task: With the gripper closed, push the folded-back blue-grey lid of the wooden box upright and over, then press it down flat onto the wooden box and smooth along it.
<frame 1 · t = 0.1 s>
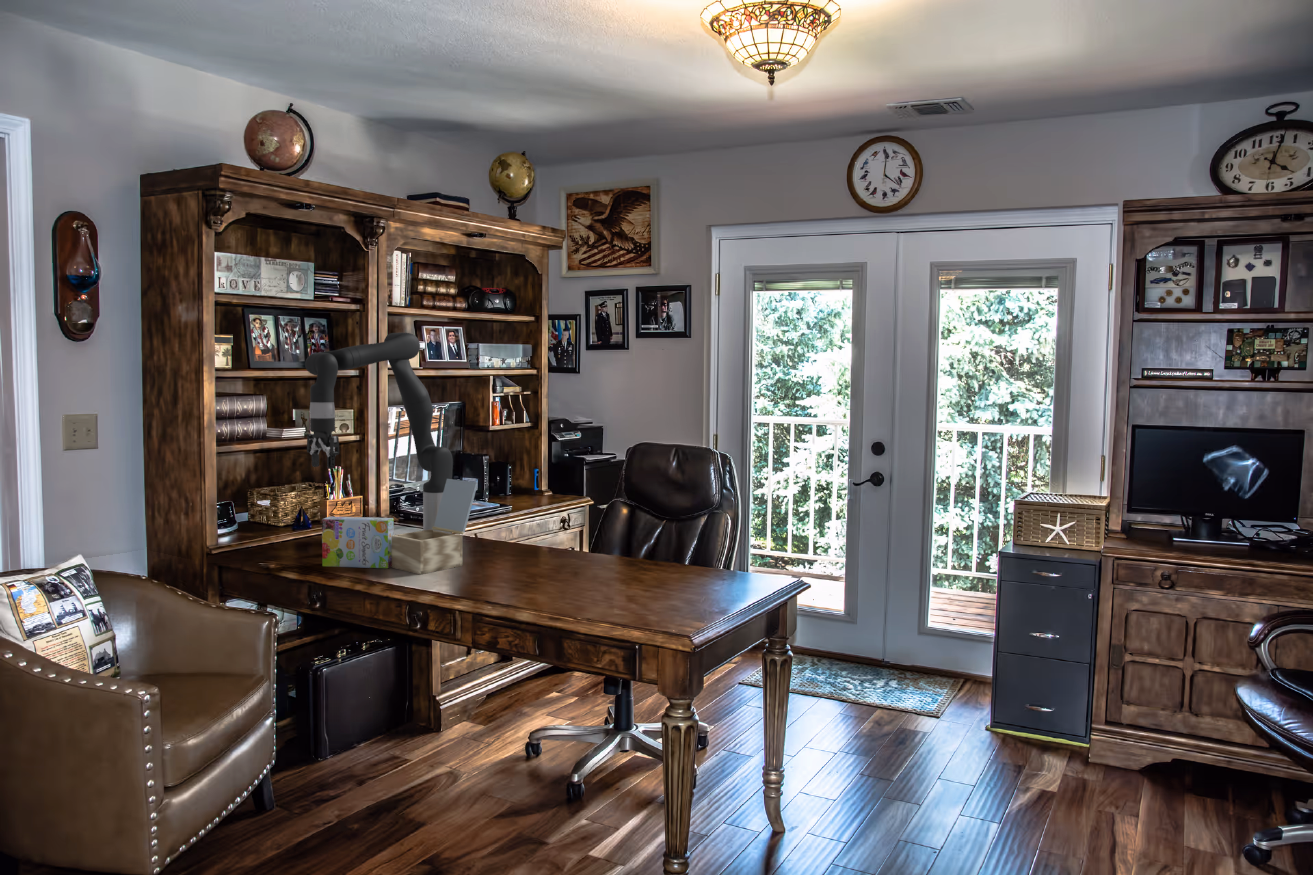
hand: (323, 467, 297), 29 cm above the table, tool pointing down, fingers open, 8 cm apart
lid: (454, 506, 296), point 18 cm above the table, hinge at 110.0°
snack box: (358, 566, 289), on the table
wooden box: (427, 566, 289), on the table
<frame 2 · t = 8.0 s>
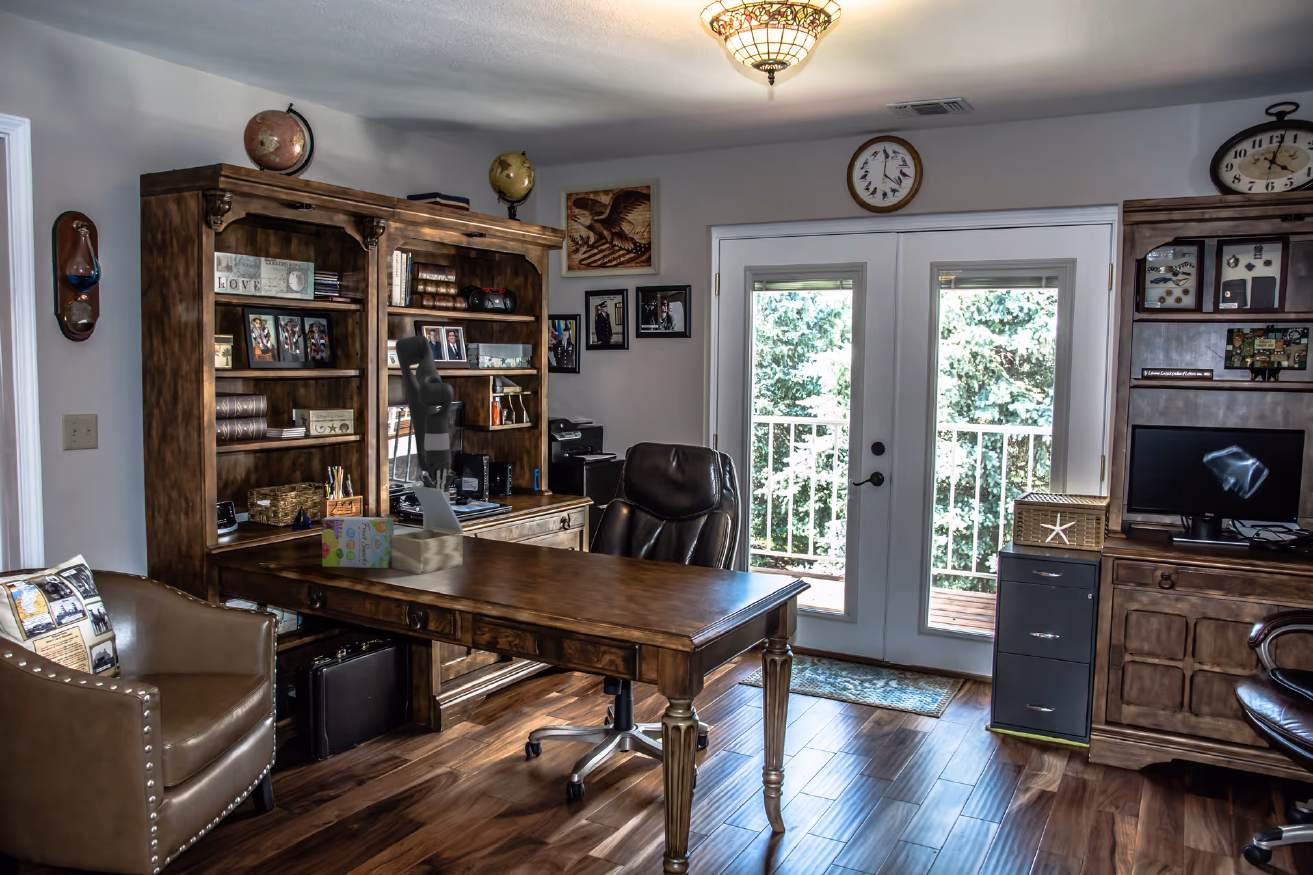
hand: (438, 503, 291), 19 cm above the table, tool pointing down, fingers closed
lid: (437, 510, 291), point 17 cm above the table, hinge at 59.0°, touching gripper
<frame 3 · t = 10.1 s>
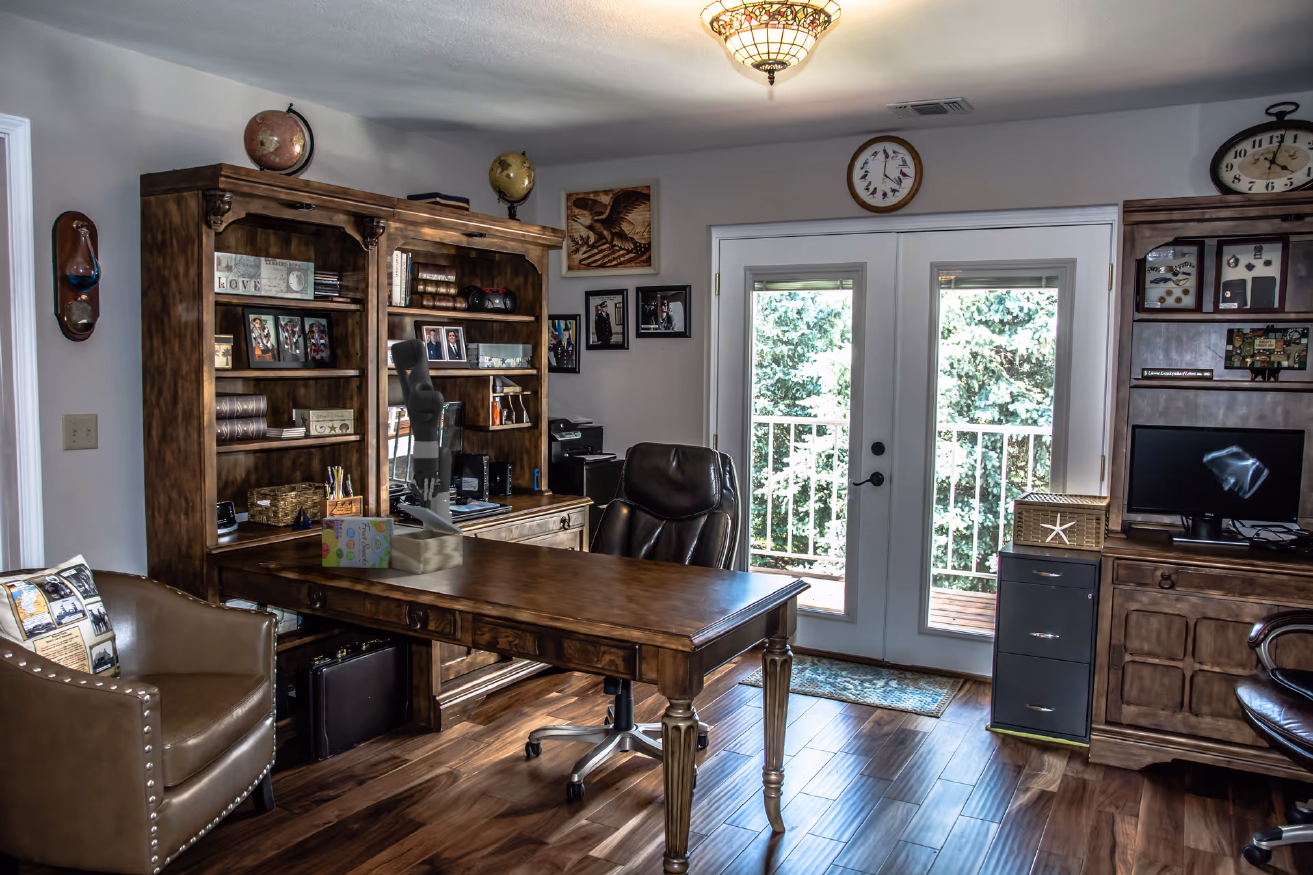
hand: (425, 512, 287), 17 cm above the table, tool pointing down, fingers closed
lid: (430, 519, 289), point 15 cm above the table, hinge at 31.9°, touching gripper
everything else where it was.
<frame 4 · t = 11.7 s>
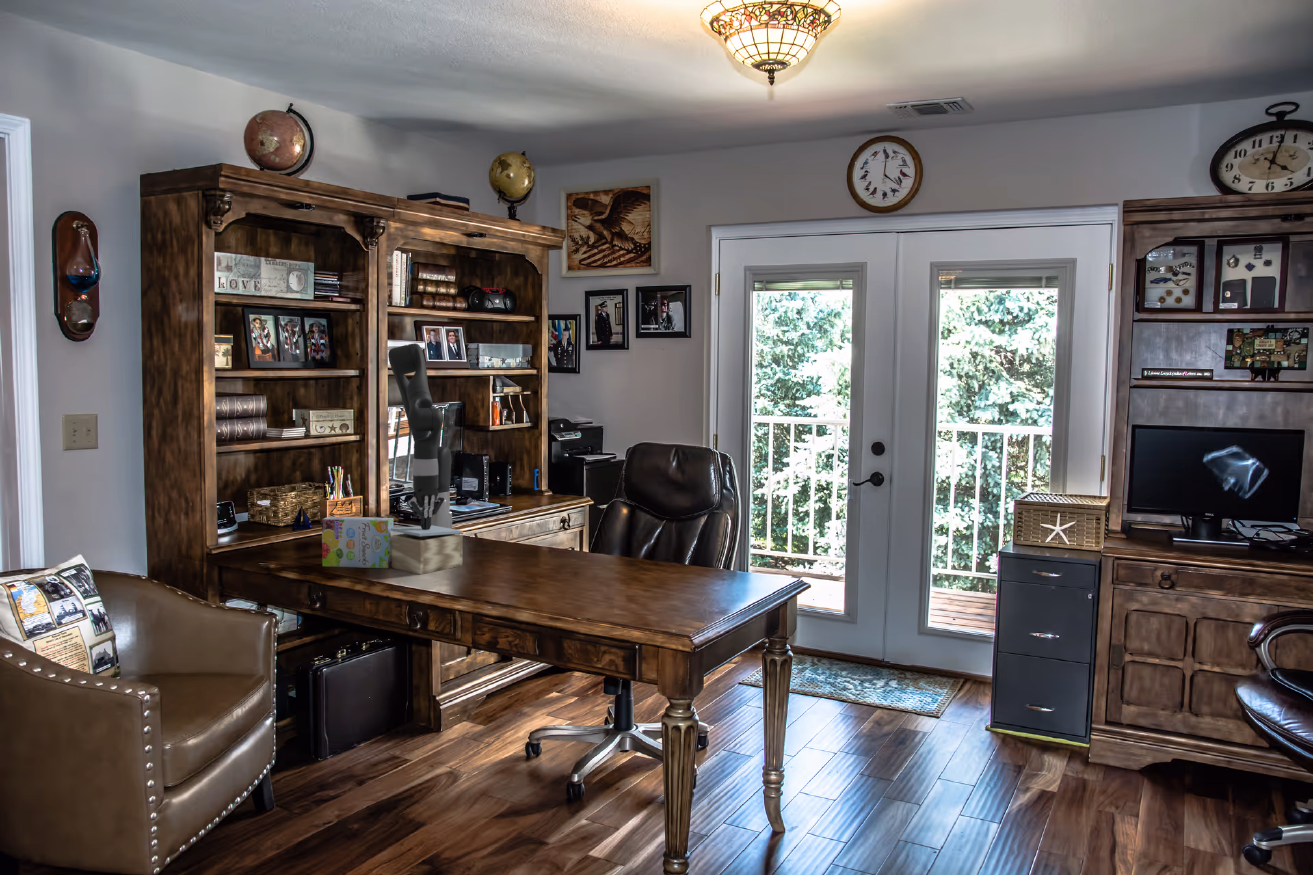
hand: (425, 529, 288), 12 cm above the table, tool pointing down, fingers closed
lid: (427, 531, 288), point 11 cm above the table, hinge at 4.3°, touching gripper
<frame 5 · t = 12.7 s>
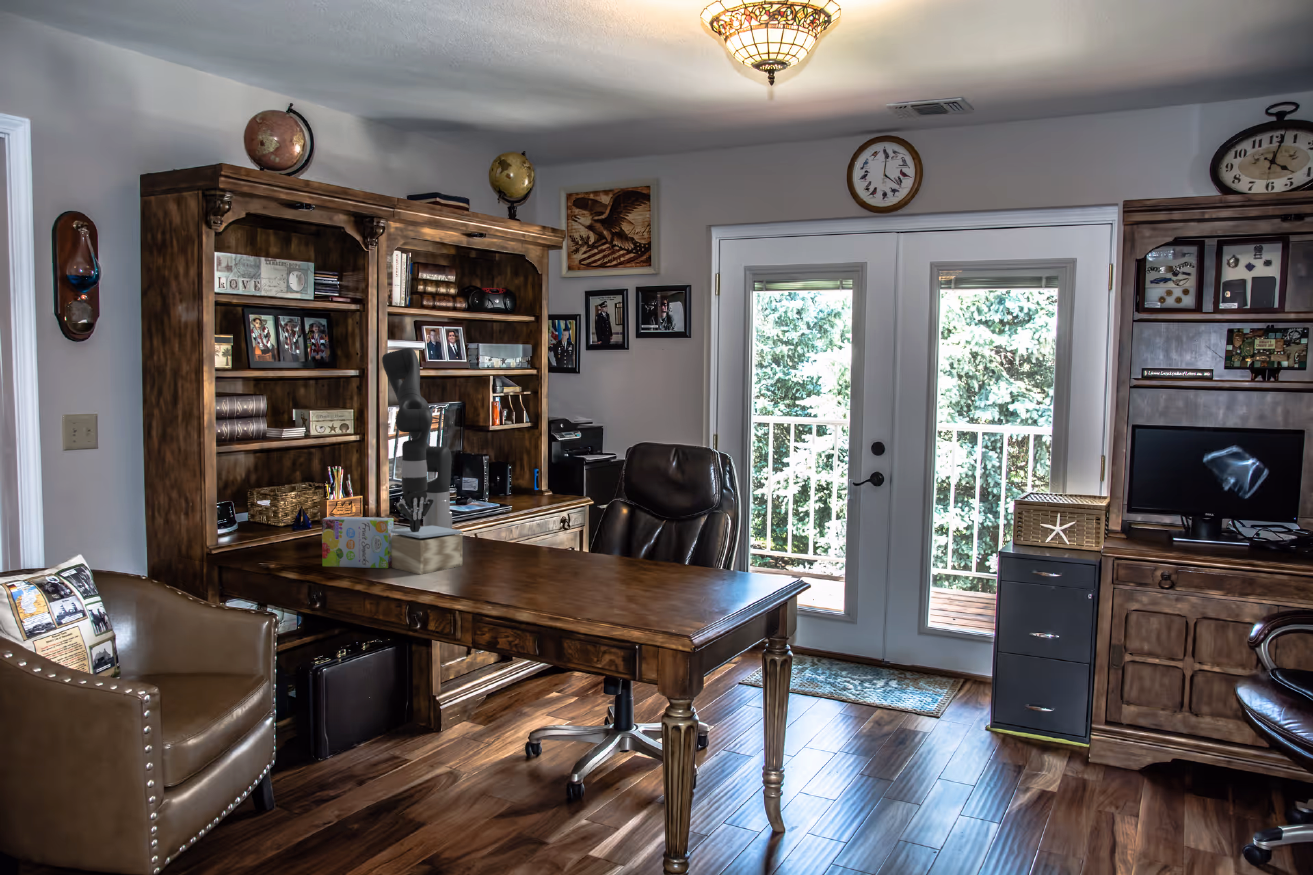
hand: (414, 531, 285), 12 cm above the table, tool pointing down, fingers closed
lid: (427, 532, 288), point 11 cm above the table, hinge at 2.4°, touching gripper
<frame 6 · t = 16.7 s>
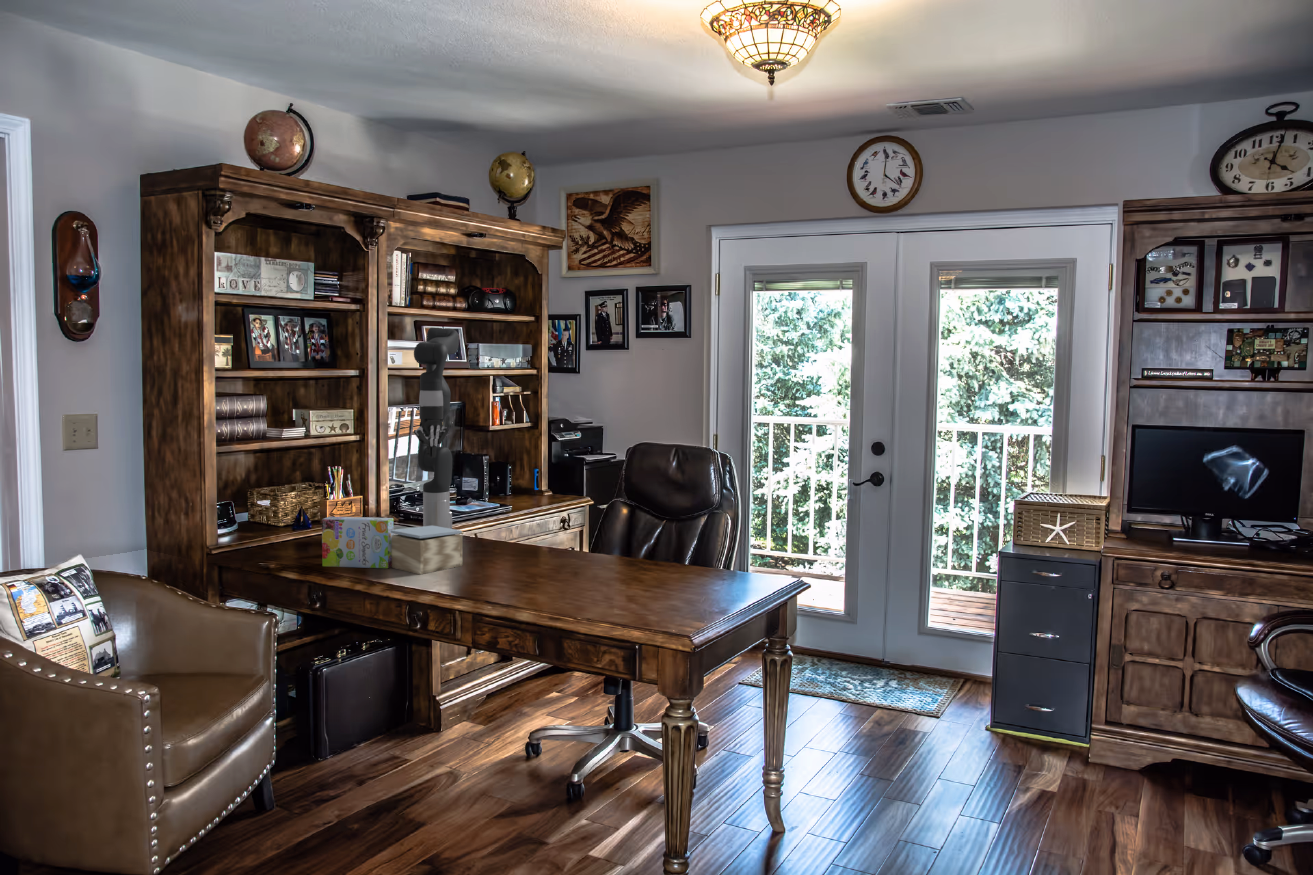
hand: (431, 457, 305), 32 cm above the table, tool pointing down, fingers closed
lid: (427, 532, 288), point 11 cm above the table, hinge at 2.1°
at the end: lid at +2° (first picture: +110°) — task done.
